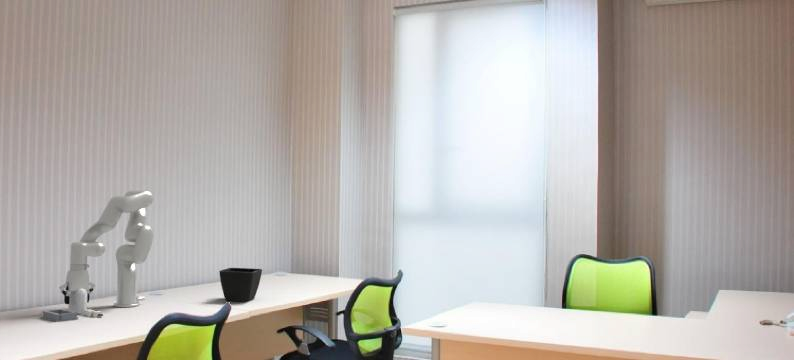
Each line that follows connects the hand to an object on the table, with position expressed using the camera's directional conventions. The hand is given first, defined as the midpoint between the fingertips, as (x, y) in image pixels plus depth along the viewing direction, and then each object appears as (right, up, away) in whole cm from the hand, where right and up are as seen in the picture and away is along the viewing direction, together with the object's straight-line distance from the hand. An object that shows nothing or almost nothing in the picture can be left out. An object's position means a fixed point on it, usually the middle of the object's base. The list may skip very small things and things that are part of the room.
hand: (76, 303), depth 351 cm
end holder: (-1, -5, -15) cm, 16 cm away
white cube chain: (+11, -5, -7) cm, 14 cm away
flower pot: (+68, -7, +50) cm, 85 cm away
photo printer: (0, -5, 0) cm, 5 cm away
